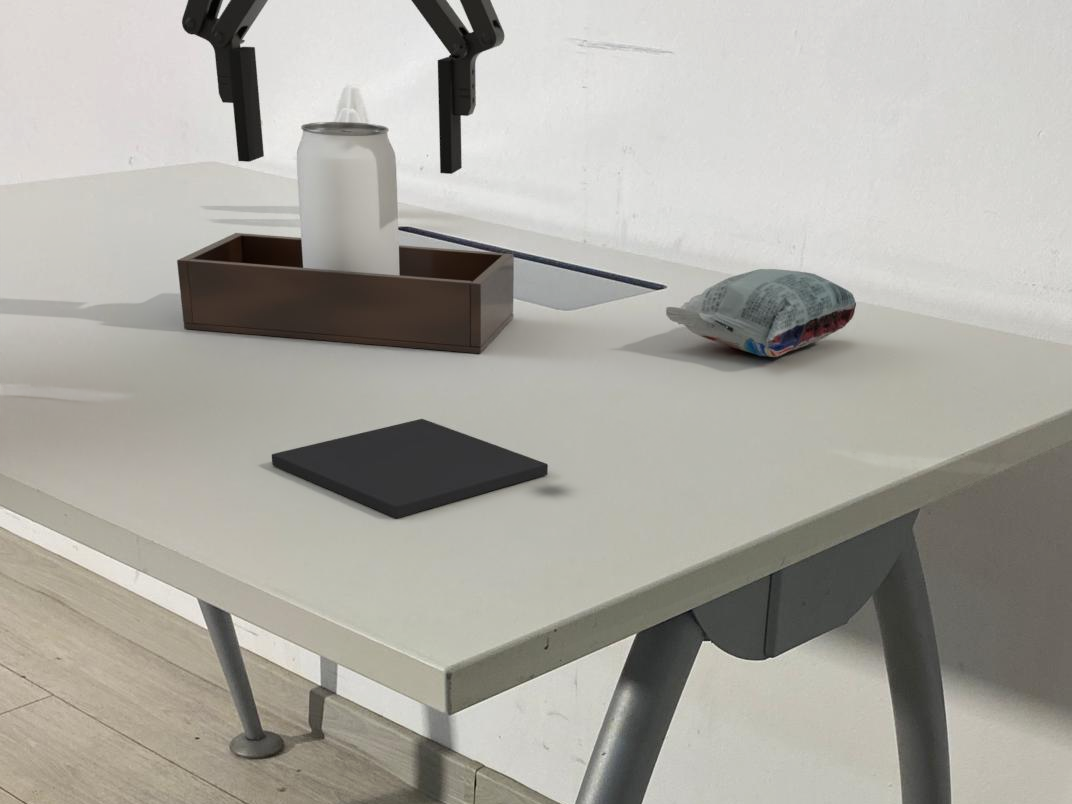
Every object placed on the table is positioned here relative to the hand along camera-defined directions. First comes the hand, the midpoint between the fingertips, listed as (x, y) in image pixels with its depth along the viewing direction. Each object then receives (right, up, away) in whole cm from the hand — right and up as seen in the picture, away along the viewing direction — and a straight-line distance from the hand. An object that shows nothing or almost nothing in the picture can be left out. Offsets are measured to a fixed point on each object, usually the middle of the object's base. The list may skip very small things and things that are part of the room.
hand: (350, 165), depth 94 cm
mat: (+7, -25, -21) cm, 33 cm away
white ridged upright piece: (-6, +12, +40) cm, 42 cm away
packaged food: (+27, -11, +5) cm, 30 cm away
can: (-1, -8, +5) cm, 10 cm away
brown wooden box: (-1, -9, +5) cm, 10 cm away
